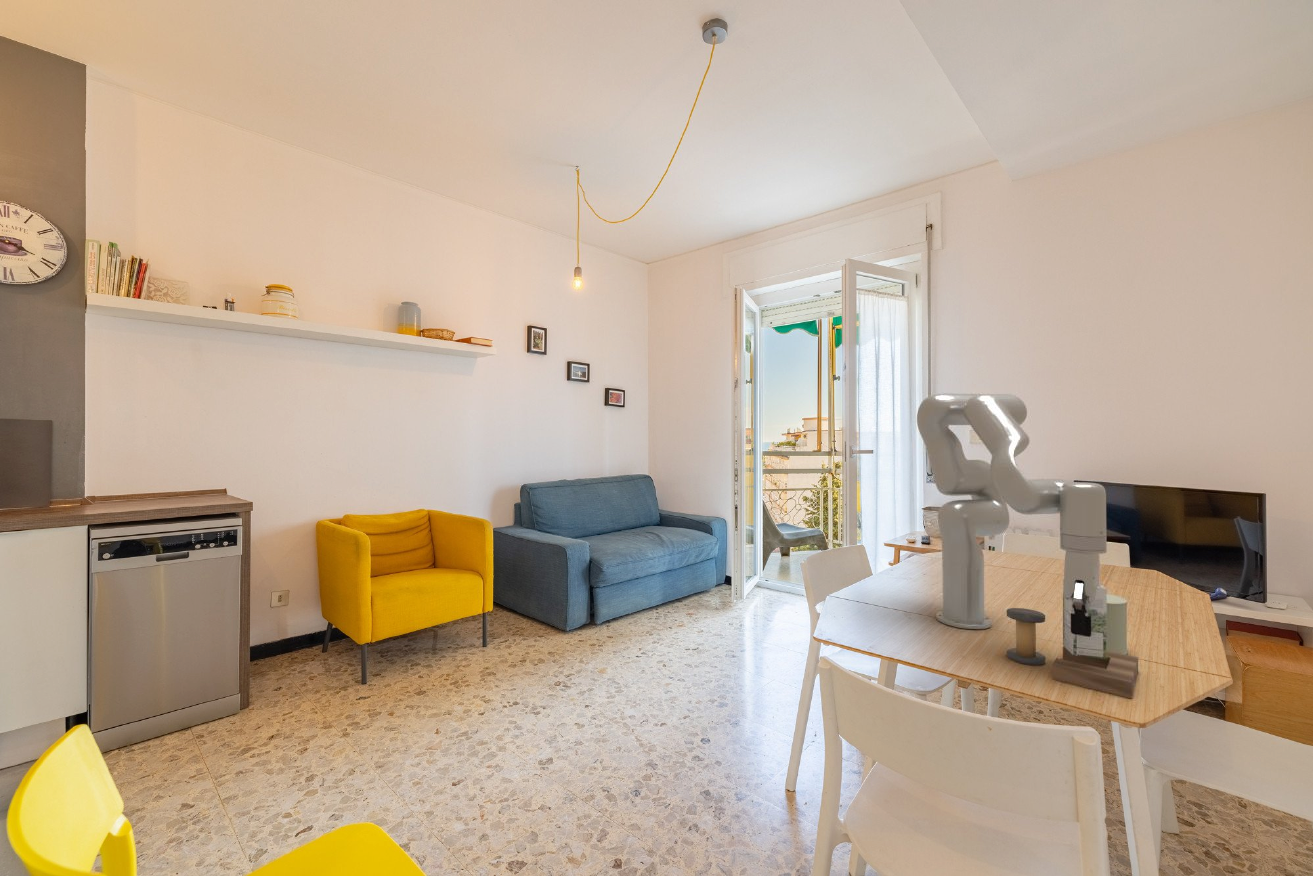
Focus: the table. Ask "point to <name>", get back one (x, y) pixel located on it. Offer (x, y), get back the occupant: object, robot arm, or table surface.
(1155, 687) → the table surface
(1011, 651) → the gray-flanged bobbin
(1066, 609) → the syrup box
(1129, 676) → the notched board
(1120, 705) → the table surface
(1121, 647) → the can
